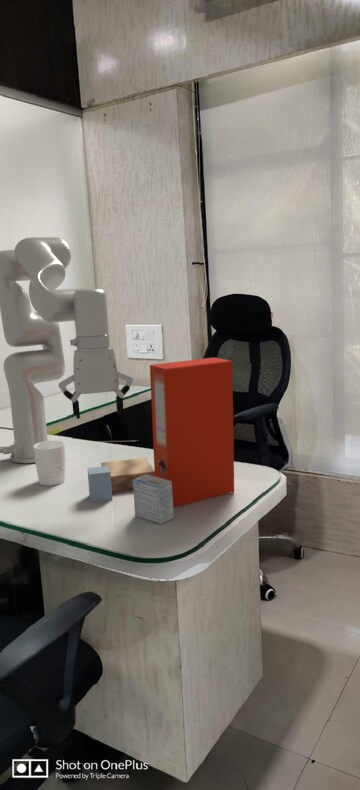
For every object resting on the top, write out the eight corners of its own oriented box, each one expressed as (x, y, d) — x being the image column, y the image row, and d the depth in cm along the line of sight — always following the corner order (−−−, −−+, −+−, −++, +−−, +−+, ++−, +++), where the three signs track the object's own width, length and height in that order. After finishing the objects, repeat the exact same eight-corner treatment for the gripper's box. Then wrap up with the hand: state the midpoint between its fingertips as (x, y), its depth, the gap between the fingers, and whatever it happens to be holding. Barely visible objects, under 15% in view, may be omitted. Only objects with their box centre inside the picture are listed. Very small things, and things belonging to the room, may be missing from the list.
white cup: (33, 480, 161) (30, 443, 159) (62, 474, 165) (59, 439, 163) (41, 488, 154) (37, 450, 152) (71, 483, 158) (68, 445, 156)
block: (91, 502, 144) (89, 474, 142) (89, 495, 148) (87, 468, 147) (112, 500, 145) (110, 472, 143) (109, 493, 150) (108, 465, 148)
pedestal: (107, 492, 150) (106, 476, 149) (102, 477, 161) (101, 462, 161) (155, 486, 153) (154, 471, 152) (146, 472, 164) (146, 457, 163)
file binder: (235, 492, 146) (232, 360, 140) (171, 508, 138) (165, 368, 132) (217, 483, 153) (213, 357, 147) (155, 497, 145) (149, 364, 139)
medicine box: (174, 518, 133) (172, 480, 131) (160, 525, 129) (158, 486, 128) (148, 510, 138) (146, 473, 136) (134, 516, 135) (132, 479, 133)
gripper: (55, 347, 135) (62, 422, 138) (132, 342, 139) (137, 415, 142) (54, 344, 143) (61, 416, 146) (128, 339, 146) (132, 409, 149)
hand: (98, 415), depth 144 cm, fingers open, 9 cm apart
